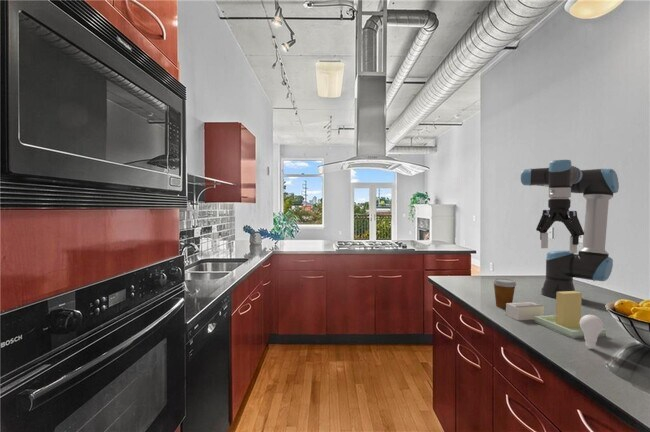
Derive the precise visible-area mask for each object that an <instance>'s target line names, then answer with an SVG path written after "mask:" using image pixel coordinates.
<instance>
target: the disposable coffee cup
mask: <svg viewBox="0 0 650 432" xmlns="http://www.w3.org/2000/svg"><path fill="white" fill-rule="evenodd" d="M492 283H493V289H494V296H495V298H494V299H495V305H496V307H498V308H501V309H506V303H514V302H513V300H514V295H515V289H516V286H517V283H516V280H514V279H510V278H501V277H497V278H496V277H495V278H494V279H493V281H492Z"/></svg>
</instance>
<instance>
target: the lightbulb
mask: <svg viewBox="0 0 650 432" xmlns="http://www.w3.org/2000/svg"><path fill="white" fill-rule="evenodd" d="M580 327H581V329H582V330H583V332H584V336H585V338H584V340H585V347H586V348H588V350H593V349H596V345H597V341H598V338H599V337H598V335H599V334H600V333H601V331H602V330H603V328H604V322H603V321H602V320H601V318H599V317H598V316H596V315H593V314H586V315H583V316H581V319H580Z"/></svg>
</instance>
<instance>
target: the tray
mask: <svg viewBox="0 0 650 432" xmlns="http://www.w3.org/2000/svg"><path fill="white" fill-rule="evenodd" d="M555 322H556V314H553V315H549V314H548V315H544V316H535V319H534V323H535V324H538V325H540V326H542V327H544V328H546V329H550V330H552V331H554V332H556V333H559V334H561V335H563V336H566V337H568V338H569V339H585V336H584V332H583V330H582V329H581V327H580V328H566V327H563V326H561V325H558V324H556V323H555ZM606 336H607V329H606V328H604V327H603V330H602V331H601V333H600V334H599V335H598V338H599V337H600V338H601V337H606Z"/></svg>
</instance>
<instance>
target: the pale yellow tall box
mask: <svg viewBox="0 0 650 432" xmlns="http://www.w3.org/2000/svg"><path fill="white" fill-rule="evenodd" d="M582 295H583V294H582V292H579V291H576V290H575V291H562V292H557V293H556V298H555V299H556V300H555V315H556V322H555V323H556V324H558V325H561V326H563V327H566V328H580V319H581V318H582Z"/></svg>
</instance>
